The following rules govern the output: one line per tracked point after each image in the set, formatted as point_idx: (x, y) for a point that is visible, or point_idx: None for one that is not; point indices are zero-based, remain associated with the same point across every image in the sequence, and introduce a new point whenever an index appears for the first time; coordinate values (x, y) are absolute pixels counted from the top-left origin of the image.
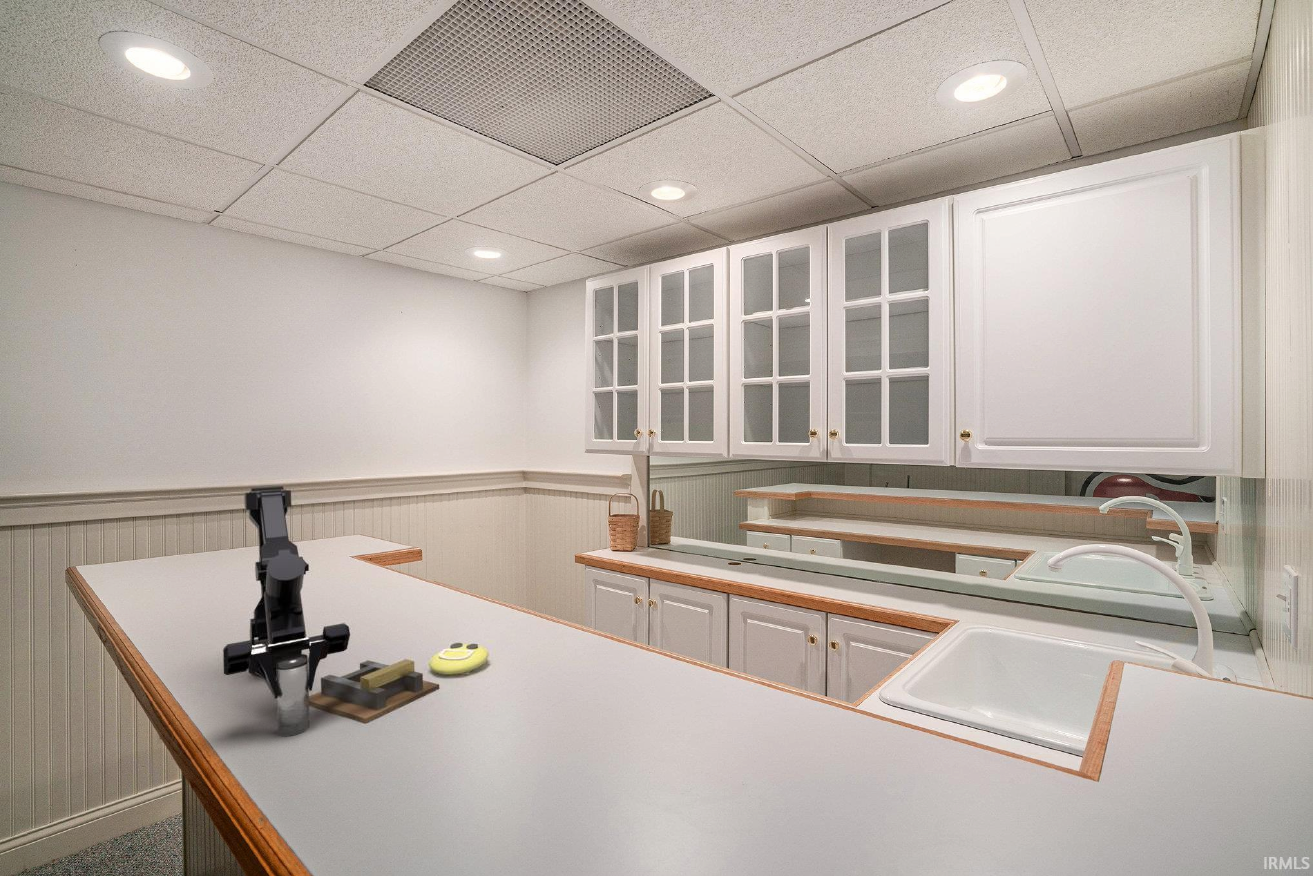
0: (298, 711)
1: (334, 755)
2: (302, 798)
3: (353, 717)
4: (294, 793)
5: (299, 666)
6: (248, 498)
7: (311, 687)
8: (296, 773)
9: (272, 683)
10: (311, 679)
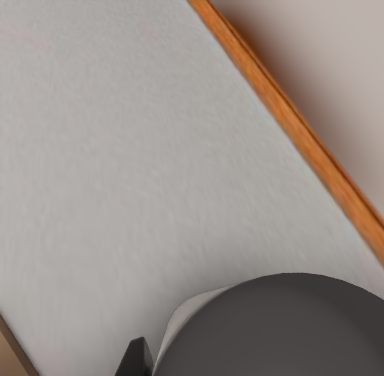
0: (191, 298)
1: (83, 134)
2: (132, 12)
3: (21, 354)
4: (147, 29)
5: (196, 307)
6: None
7: (134, 339)
8: (155, 90)
9: None
10: (129, 371)
